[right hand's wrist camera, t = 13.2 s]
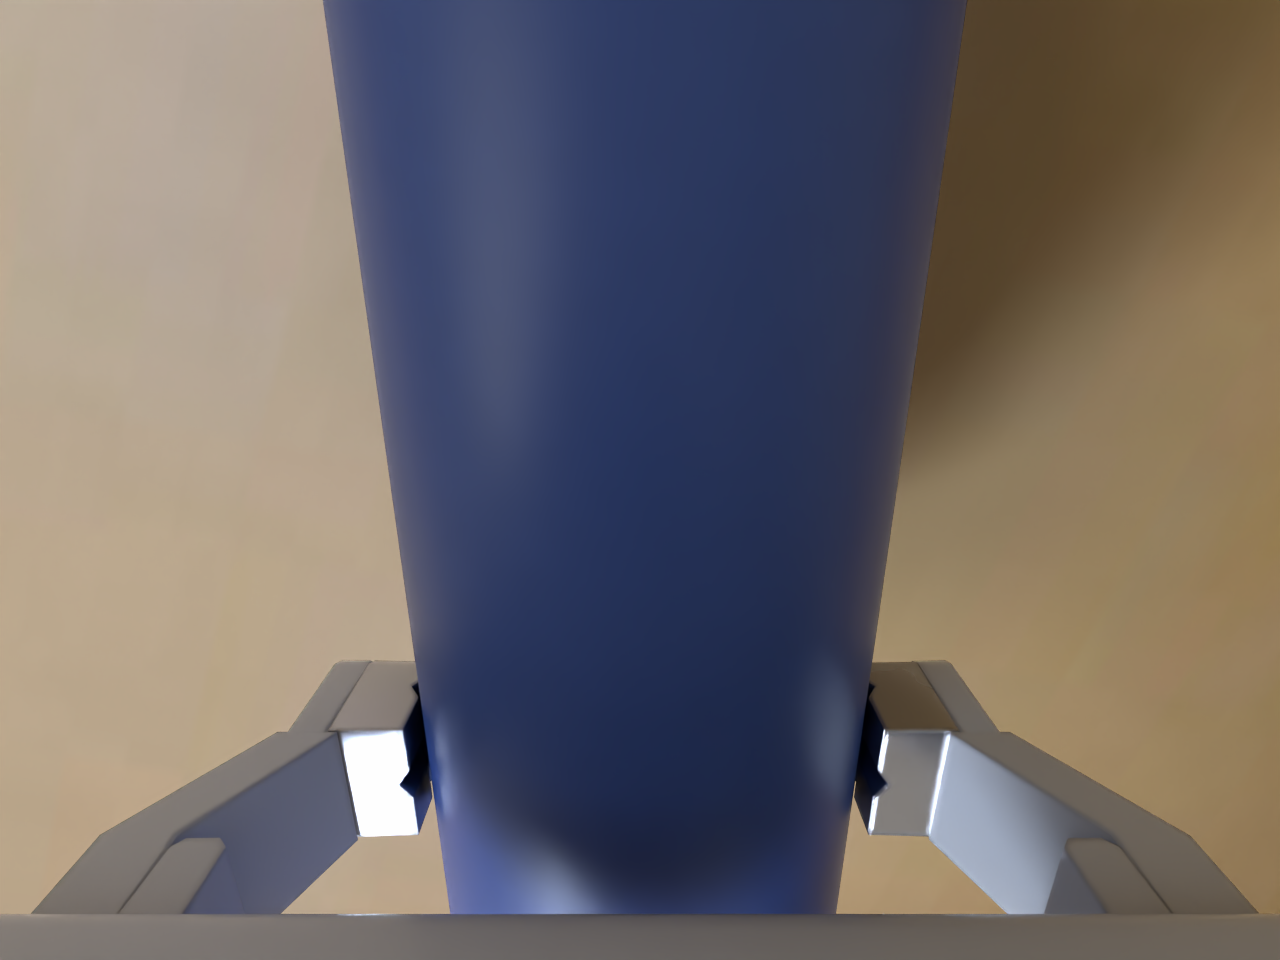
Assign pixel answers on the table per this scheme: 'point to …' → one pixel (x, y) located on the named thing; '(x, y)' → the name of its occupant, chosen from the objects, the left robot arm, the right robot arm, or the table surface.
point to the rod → (644, 418)
